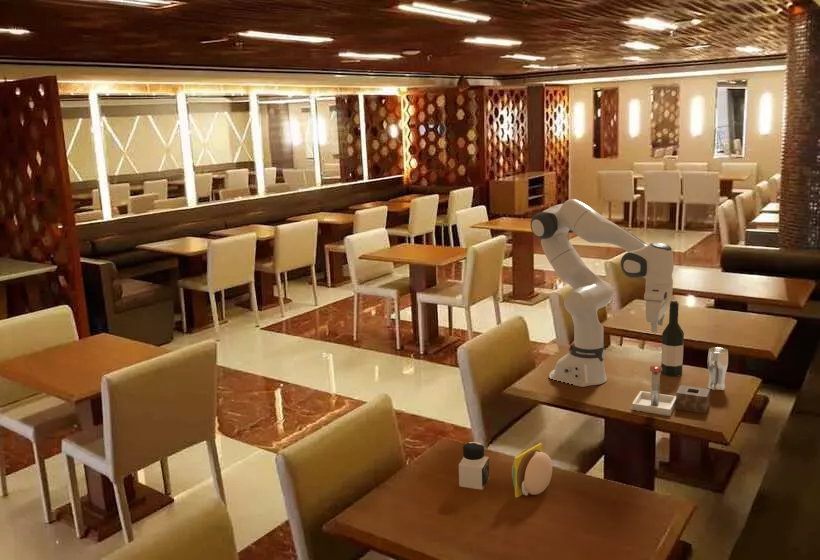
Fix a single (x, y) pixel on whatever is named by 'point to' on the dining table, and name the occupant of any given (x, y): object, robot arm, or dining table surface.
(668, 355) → the wine bottle
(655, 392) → the pin
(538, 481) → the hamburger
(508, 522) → the dining table surface
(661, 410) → the tray
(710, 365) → the beer glass
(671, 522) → the dining table surface
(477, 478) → the medicine bottle
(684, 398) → the block
